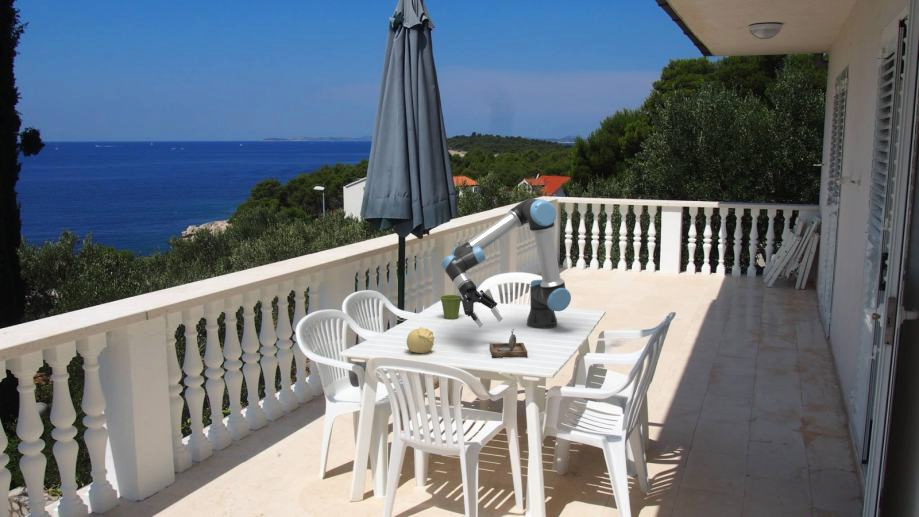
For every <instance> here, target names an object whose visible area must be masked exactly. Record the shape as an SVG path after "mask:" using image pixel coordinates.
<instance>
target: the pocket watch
mask: <svg viewBox="0 0 919 517" xmlns="http://www.w3.org/2000/svg"><path fill="white" fill-rule="evenodd" d="M514 331H515V328H513V329H512V330H511V334H510V337H509V339H508V343H509V347H506V346H504V347H498V348H497V350H498V351H501V352H503V351H512V350H513V349H514V348H515V346H516V343H517V336H516V335H515V334H514ZM512 343H513V344H512Z"/></svg>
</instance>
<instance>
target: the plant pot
mask: <svg viewBox="0 0 919 517" xmlns="http://www.w3.org/2000/svg"><path fill="white" fill-rule="evenodd" d="M461 296H462V295H461V294H460V295H459V294H445V295H440V296H439V299H440V301H441V305H442V312H443V318H444V319H446V320H450V319H451V320H454V319H458V318H459V316H460V315H459V314H460V307H461V303H462V301H461V299H460V297H461Z"/></svg>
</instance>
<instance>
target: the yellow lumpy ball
mask: <svg viewBox="0 0 919 517" xmlns="http://www.w3.org/2000/svg"><path fill="white" fill-rule="evenodd" d="M434 341H435V337H434V332H433V330H430V329H428V328H424V327H422V326H421V327H419V328H415V329H413V330H411V331H410V332H409V333H408V335H407V337H406V346H407V349H408V350H409V351H410V352H411V353H415V354H417V353H418V354H427V353H428V352H430V351H432V349H433V346H434Z"/></svg>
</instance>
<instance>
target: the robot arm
mask: <svg viewBox="0 0 919 517" xmlns="http://www.w3.org/2000/svg"><path fill="white" fill-rule="evenodd" d="M556 210H557V209H556V208H555V206H554V205H553V203H551V202H550V201H548V200H546V199H539V198H537V199H536V198H527V199H525V200H522V201H521V202H519V203H518V204H517V205H515V206H513V207H512V208H510V209H509V210H508V213H507V214H505V215H504V216H503V217H501V218H500V219H498V220H497V221H496V222H494V223H492V224H491V225H490V226H488V227H487V228H485V229H484V230H483V231H481V232H479V233H477V234H476V235H475V236H474V237H472V238H471V239H469V240H468V241H467V242H465V243H463V244H461V245H457V246H455V247H454V248H453V249H452V252H451V254H449V255H447V256H446V257H444V258H443V259H442V261H441V266H442V268H443V270H444V271H445V272H444V273H446V275H447V276H448V277H449V279H450V280H451V281H452V283H453V284H454V286H455V287H456V289H457V290H458V292H459V293H460V296H461V297H460V299H461V303H462V307H463V308H462V309H463V311H464V315H466V316H467V317H471V319H472V320H473V321H474V323H475V324H476V325H477V327H478V328H481V327H482V326H483V325H484V322H483V321H482V319H481V318H480V317H479V314H477V312H476V311H475V310H474V309H475V308H474V304H476V303H478V304H482V305H483V306H485V307H487V308H488V309H490V312H491V313H492V315H493V316H494V317H495V318H496V321H497V322H498V323H499V322H501V321H502V319H504V317H503V316H502V314H501V313H500V311H499V310H498V308H497V306H498V303H497V301H495V300H494V299H493V298H492V297H490V296H489V295H488V294H486V293H485V291H484V290H483V289H480V290H477V286H476V284H475V283H474V281H473V280H472V278H471V276H469V275H468V273H467V271H468V270H470V269H472V268H475V266H478V265H479V264H481V263H483V262H484V261H485V260H486V255H485V252H484V250H485V249H487V248H488V247H489V246H492V244H493V243H495V242H497V241H498V240H500V239H501V238H503V237H504V236H506V235H507V234H508V233H510V232H512V231H513V230H514V229H516V228H520V227H523V226H524V225H527V224H528V226H529V230H530V232H532V233H533V236H534V241H535V246H536V251H537V257H538V264H539V267H540V273H541V274H540V275H541V279H532V281H531V282H530V286H529V289H530V290H529V291H530V292H529V293H530V299H529V300H530V310H529V313H528V317H527V320H526V326H528V328H529V327H530V328H534V329H551V328H556V327H558V318H557V316H556V312H562V311H564V310H566V309H567V308H568V307H569V305H570V304H571V301H572V295H571V293H570V291H569V289H567V288H566V283H565V280H564V279H563V278H561V275H560V273H561V272H560V268H559V264H558V257H557V252H556V251H557V250H556V246H555V240H554V234H553V228H554V227H555V220H556V217H557V211H556Z"/></svg>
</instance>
